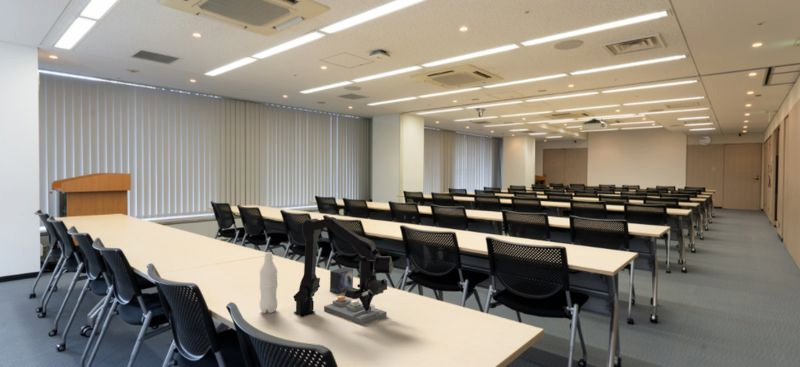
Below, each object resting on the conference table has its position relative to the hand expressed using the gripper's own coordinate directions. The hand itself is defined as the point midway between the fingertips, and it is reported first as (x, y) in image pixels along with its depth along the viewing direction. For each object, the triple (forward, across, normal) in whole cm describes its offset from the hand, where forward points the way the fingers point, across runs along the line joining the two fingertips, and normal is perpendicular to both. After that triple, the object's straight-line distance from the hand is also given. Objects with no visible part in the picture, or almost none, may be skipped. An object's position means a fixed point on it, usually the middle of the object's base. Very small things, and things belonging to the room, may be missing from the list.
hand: (366, 310), depth 162 cm
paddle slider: (+1, +2, 0) cm, 2 cm away
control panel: (+4, +1, +8) cm, 9 cm away
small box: (+4, +19, +38) cm, 43 cm away
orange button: (0, +1, +17) cm, 17 cm away
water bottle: (+4, -22, +37) cm, 43 cm away
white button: (0, +1, +8) cm, 8 cm away
